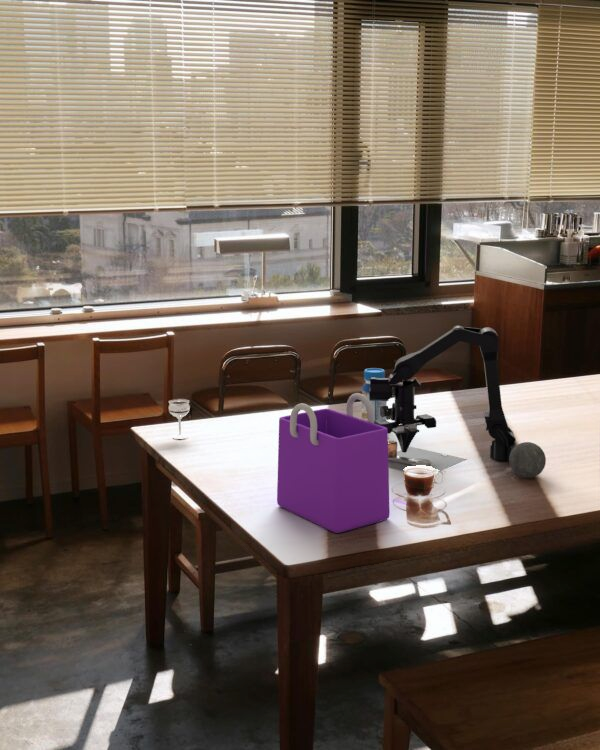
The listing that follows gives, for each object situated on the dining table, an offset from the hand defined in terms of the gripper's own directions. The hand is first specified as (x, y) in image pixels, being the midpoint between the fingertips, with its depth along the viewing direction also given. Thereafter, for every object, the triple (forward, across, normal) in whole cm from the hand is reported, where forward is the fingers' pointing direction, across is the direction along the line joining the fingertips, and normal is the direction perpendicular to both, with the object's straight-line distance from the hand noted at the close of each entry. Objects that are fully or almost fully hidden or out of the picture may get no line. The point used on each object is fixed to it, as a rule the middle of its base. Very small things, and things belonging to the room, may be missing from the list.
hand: (404, 452), depth 303 cm
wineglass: (+2, +54, -49) cm, 73 cm away
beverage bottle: (+2, -6, -33) cm, 33 cm away
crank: (+1, +2, +6) cm, 7 cm away
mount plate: (+2, -2, +6) cm, 6 cm away
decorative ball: (+3, -24, +28) cm, 37 cm away
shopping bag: (+2, +38, +32) cm, 50 cm away
